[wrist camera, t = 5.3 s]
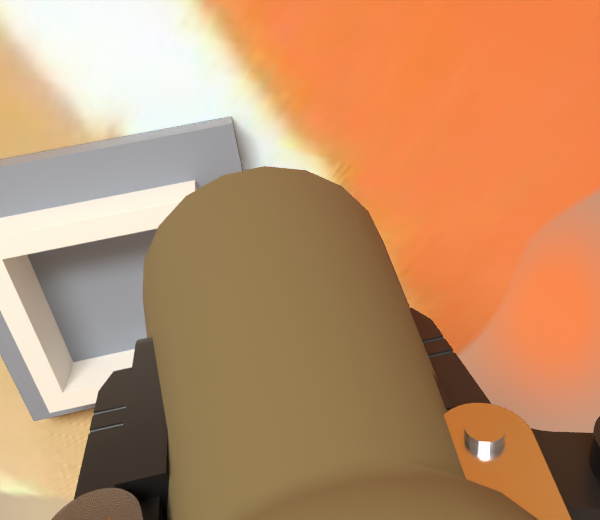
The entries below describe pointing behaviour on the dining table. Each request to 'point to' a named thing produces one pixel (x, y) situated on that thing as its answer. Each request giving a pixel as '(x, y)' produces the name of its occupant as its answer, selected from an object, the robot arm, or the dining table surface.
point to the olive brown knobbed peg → (296, 363)
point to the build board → (90, 253)
